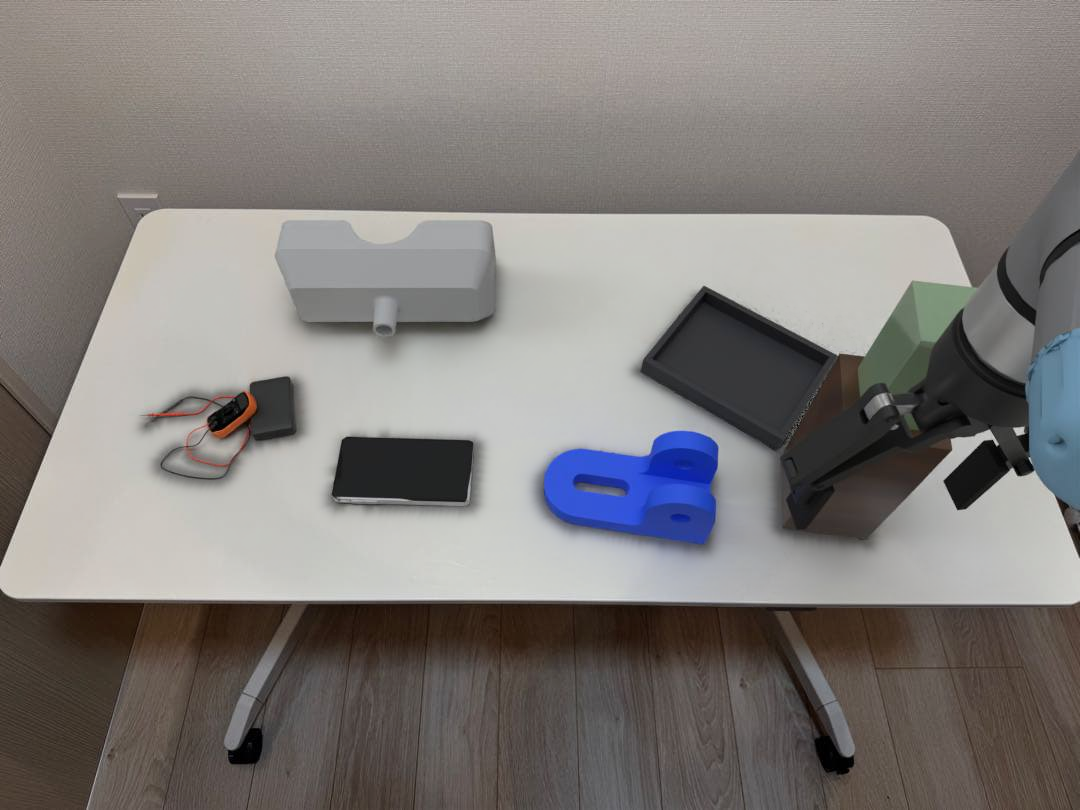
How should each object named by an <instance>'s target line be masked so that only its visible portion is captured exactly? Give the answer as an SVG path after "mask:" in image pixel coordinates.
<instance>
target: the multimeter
mask: <svg viewBox="0 0 1080 810" xmlns="http://www.w3.org/2000/svg"><path fill="white" fill-rule="evenodd" d="M190 398H192V399H193V398H194V399H200V400H204V401H208V403H207V404H206V406H205V407H204V408H202V409H201V410H200V411H197V412H193V413H186V412H168V411H170V410H172V409H174V408H175V407H176V406H178V405H179V404H181V403H182V402H183V401H184V400H186V399H190ZM220 398H221V399H222V398H232V399H231V400H230V401H228V402H227V403H226V404H225V405H222V404H220V403H218V402H217V401H216V402H215V400H217V399H220ZM211 403H213V404H216V405H217V406H219V407H221V408H219V409H217V410H216V411H214V412H212V413H211V414H210V415H208V416H207V417H206V424H205V425H203V426H200V427H197V428H195V429H193V430H192V431H191V432H190V433H189V434H188V436H187V439H186V443H185V445H184V446H179V447H175V448H173V449H172V450H170V451H169V452H168V453H167V454H166V455H165V456H164V457H163V459H162V460H161V461H160V463H159V465H160V468H161V469H163V470H164V471H166V472H168V473H171V474H174V475H178V476H181V477H185V478H192V479H200V480H217V479H221V478H223V477H225V476H226V474H227V473H228V471H229V470H230V467H231V464H232V463H233V462H234V461H235V460H236V459H237V457H238V456H239V454H240V453H241V452H242V451H243V449H244V448H245V447H246V446H247V444H248V442H250V441H249V440H250V438H251V436H252V438H253V439H254V440H255V441H261V440H266V439H272V438H273V439H274V438H278V437H284V436H288V435H293V434H295V433H296V420H295V419H296V418H295V408H294V383H293V381H292V380H291V377H290V376H288V375H286V376H279V377H274V378H273V377H272V378H267V379H262V380H255V381H252V382H250V383H249V392H248V391H247V390H242V391H241V392H240V393H238V394H237V395H222V396H221V395H220V396H218V397H214V398H213V399H208V398H204V397H198V396H193V395H192V396H190V395H189V396H187V397H184V398H182V399H179V400H178V401H176V402H175V403H173V404H171V406H169V407H168V408H166V409H164V410H163V411H161V412H160V413H154V412H152V413H149V414H148V413H147V414H141V415H140V414H139V415H138V416H140V417H145V416H146V417H152V418H151V419H150V420H149V421H148V422H146V423H145V424H144V426H146V425H148V424H149V423H151V422H153V421H155V420H157V419H158V418H159V417H176V416H185V415H189V416H190V415H191V416H192V415H198V414H200V413H202V412H203V411H204V410H206V409H207V407H208V406H209V405H210V404H211ZM248 419H250V422H249V424H248V423H247V420H248ZM243 423H245V425H246V427H247V433H246V435H245V438H244V440H243V442H242V444H241V446H240V448H239V450H238V452H236V454H235V455H234V456H233V457H232V458H231V460H230V461H229V462H227V463H225V464H216V463H212V462H207V461H203V460H199V459H197V458H195V457H194V456H193V455H192V454H191V452H190V451H189V448H193V447H196V446H198V445H200V443H201V442H202V441H203V439H204V438H205V436H207V434H208V432H210V433H211V434H213V435H214V436H215V437H218V438H219V439H224V438H225V437H226V436H228V435H229V434H231V433H232V432H233V431H235V429H237V428H238V427H239V426H241V425H242V424H243ZM205 427H207V430H206V431H205V432H204V434H203V435H202V437H201V439H200V440H199V442H197V443H196V444H194V445H189V444H188V443H189V442H188V441H189V438H190V436H191V435H192V434H193V433H194V432H196V431H198V430H200V429H202V428H205ZM183 448H186V451H187V453H188V455H189V456H190V457H191V459H193V460H194V461H197V462H199V463H203V464H209V465H212V466H216V467H225V466H227V470H226V471H225V473H224V474H223V475H221V476H219V477H199V476H193V475H186V474H181V473H177V472H174V471H171V470H168V469H167V468H164V467H163V466H162V465H163V462H164V460H165V459H166V458H167V457H168V456H169V455H171V454H172V452H174V451H176V450H179V449H183Z"/></svg>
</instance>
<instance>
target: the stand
mask: <svg viewBox="0 0 1080 810" xmlns="http://www.w3.org/2000/svg"><path fill="white" fill-rule="evenodd" d="M837 355H838V357H837V359H836V360H835V362H834V364H833V366H832V367H831V369H830V371H829V372H828V374H827V375H826V377H825V378H824V380H823V381H822V383H821V384H820V386H819V387H818V389H817V391H816V393H815V394H814V396H813V398H812V401H811V402H810V404H809V406H808V407H807V409H806V411H805V413H804V414H803V416H802V418H801V420H800V422H799V424H798V425H797V427H796V429H795V430H794V432H793V434H792V435H791V437H790V439H789V441H788V442H787V444H786V446H785V447H784V450H782V451H783V452H782V453H781V455H780V457H781V456H782V455H783V454H785V453H786V452H788V451H789V450H791V449H792V448H793V447H795V446H796V445H798V444H799V443H800V442H802V441H803V440H805V439H806V438H807V437H809V436H810V435H812V434H813V433H814V432H816V431H817V430H819V429H820V428H821V427H823V426H824V425H826V424H827V423H828V422H830V421H831V420H833V419H834V418H836V417H837V416H838V415H840V414H841V413H843V412H844V411H845V410H847V409H848V408H850V407H851V406H852V405H854V404H855V403H856V402H857V401H858V400H859V399H860V390H859V379H858V367H859V365H860V363H861V362H862V360H863V359H864V357H865V356H864V355H857V354H856V355H855V354H848V353H842V352H841V353H839V354H837ZM910 431H911V433H912V435H913V437H916V436H918V435H920V434H921V432H920V431H917V430H910ZM952 443H953V442H952V439H944V440H942V441H940V442H938V443H935V444H933V445H931V446H929V447H927V448H925V449H923V450H921V451H919V452H917V453H909V452H907V451H902V452H900V453H898V454H896V455H894V456H892V457H890V458H888V459H886V460H884V461H882V462H879V463H877V464H875V465H873V466H871V467H869V468H867V469H865V470H863V471H861V472H859V473H857V474H855V475H853V476H851V477H848V478H846V479H844V480H842V481H840V482H838V483H836V484H834V485H833V487H834V490H835V492H834V493H833V495H832V496H831V497H830V499H829V500H828V501H827V502H826V504H825V505H824V506H823V508H822V509H821V510H820V511H819V513H818V514H817V515H816V517H815V518H814V519H813V520H812V522H811V523H810V524H809V526H808V527H807V528H806V529H803V530H798V531H800V532H807V533H814V534H822V535H830V536H836V537H843V538H852V539H859V540H866V541H867V540H868V539H869V538H870V537H871V536H872V535H873V534H874V533H875V532H876V531H877V530H878V529H879V528H880V526H882V525H883V523H885V522H886V520H887V519H888V518H889V517H890V516H891V515H892V514H893V513H894V512H895V511H896V510H897V509H898V508H899V507H900V506H901V505H902V504H903V503H904V501H906V499H907V498H909V496H910V495H911V494H912V493H913V492H914V491H915V490H916V489H917V488H918V487H919V486H920V485H921V484H922V483H923V482H924V480H925V479H927V477H929V475H930V474H932V472H933V471H934V470H935V469H936V468H937V467H938V466H939V465H940V464H941V463H942V462H943V461H944V460H945V458H947V457H948V455H949V454H950V453H951V452H952V451H953V445H952ZM780 484H781V485H780V486H781V489H780V490H781V524H782V525H781V528H782V529H785V530H792V531H797V530H796V527H795V524H794V521H793V518H792V516H791V513H790V510H789V507H788V504H787V501H786V499H787V497H788V496H789V494H790V493H791V490H790V485H789V482H788V479H787V477H786V474H785V471H784V468H783V466H782V463H781V462H780Z"/></svg>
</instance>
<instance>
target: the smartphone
mask: <svg viewBox="0 0 1080 810" xmlns="http://www.w3.org/2000/svg"><path fill="white" fill-rule="evenodd" d="M340 441H341V442H340V445H339V446H340V447H339V452H338V457H337V463H336V469H335V474H334V478H333V479H334V480H333V484H332V491H331V497H332V499H333V500H334V502H336V503H339V504H340V503H344V504H345V503H347V504H359V505H360V504H361V505H362V504H363V505H365V504H366V505H378V504H379V505H380V504H382V505H410V506H411V505H413V506H416V505H417V506H450V507H466V506H468V505H470V503H471V488H472V477H473V464H474V451H475V444H474V441H472V440H470V439H446V438H445V439H444V438H443V439H442V438H437V439H435V438H410V437H407V438H406V437H382V436H345V437H344V438H342V439H341V440H340Z"/></svg>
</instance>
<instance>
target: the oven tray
mask: <svg viewBox="0 0 1080 810" xmlns="http://www.w3.org/2000/svg"><path fill="white" fill-rule="evenodd" d="M838 355H839V354H836V353H834V352H832V351H830V350H828V349H826V348H824V347H823V346H821V345H819V344H817V343H815V342H813V341H811V340H809V339H807V338H805V337H803V336H801V335H800V334H797V333H796V332H794V331H792V330H791V329H788V328H786V327H785V326H783V325H781V324H778V323H776V322H775V321H773V320H771V319H770V318H767V317H766V316H763V315H761V314H759V313H757V312H756V311H754V310H752V309H751V308H748V307H746V306H744V305H742V304H740V303H739V302H736V301H735V300H733V299H731V298H729V297H727V296H725V295H723V294H721V293H719V292H717V291H716V290H714V289H712V288H709V287H708V286H706V285H703V286H702V287H701V288H700V289H699V290H698V292H697V293H696V294H695V295H694V297H693V298H692V299H691V300H690V301H689V303H688V304H687V305H686V307H684V309H683V310H682V311H681V313H680V314H679V315H678V316H677V317H676V318H675V320H674V321H673V323H672V324H671V325H670V326H669V327H668V328H667V329H666V331H665V332H664V333H663V335H662V336H661V337H660V338H659V339H658V341H657V342H656V343H655V344H654V345H653V347H652V348H651V349H650V350H649V351H648V353H647V354H646V355H645V357H644V358H642V364H641V369H640V373H641V374H643V375H644V376H645V375H646V376H647V377H649V378H651V380H654V381H656V382H657V383H659V384H661V385H662V386H664V387H666V388H667V389H669V390H671V391H673V392H675V393H676V394H678V395H679V396H682V397H683V398H685V399H686V400H688V401H690V402H692V403H693V404H695V405H697V406H699V407H701V408H702V409H704V410H706V411H707V412H708V413H711V414H712V415H714V416H716V417H718V418H720V419H721V420H722V421H724V422H726V423H728V424H730V425H731V426H733V427H735V428H736V429H738V430H740V431H742V432H743V433H745V434H747V435H748V436H750V437H752V438H754V439H755V440H757V441H759V442H760V443H762V444H764V445H765V446H767V447H769V448H771V449H773V450H775V451H779V450H780V448H781V446H782V444H783V443H784V441H785V440H786V438H787V437H788V435H789V433H790V432H791V430H792V429H793V427H794V426H795V425H796V423H797V421H798V420H799V418H800V417H801V416H802V414H803V412H804V411H805V410H806V407H807V406H808V405H809V403H810V401H811V400H812V399H813V398H814V396H815V395H816V393H817V391H818V390H819V388H820V387H821V385H822V383H823V381H824V380H825V378H826V376H827V374H828V373H829V371H830V369H831V368H832V366H833V364H834V362H835V361H836V359H837V357H838Z"/></svg>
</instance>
